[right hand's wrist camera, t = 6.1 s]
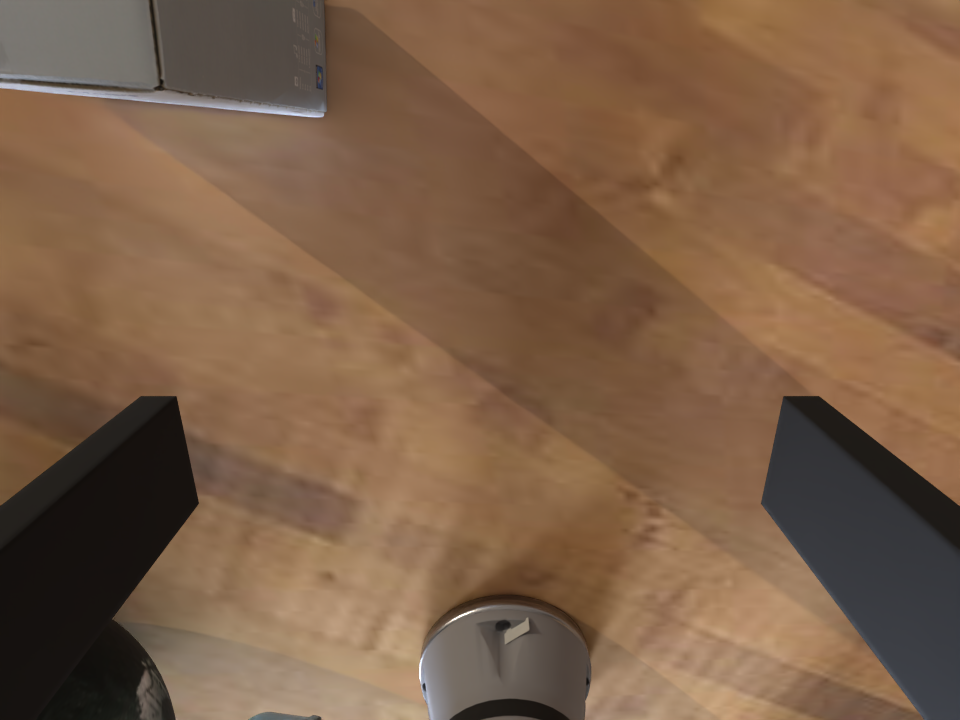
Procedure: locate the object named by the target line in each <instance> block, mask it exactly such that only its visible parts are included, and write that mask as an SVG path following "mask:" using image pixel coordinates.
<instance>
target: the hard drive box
mask: <svg viewBox="0 0 960 720" xmlns="http://www.w3.org/2000/svg"><path fill="white" fill-rule="evenodd" d="M0 88H7V89H17V90H27V91H37V92H47V93H57V94H68V95H80V96H92V97H103V98H116V99H126V100H137V101H147V102H158V103H169V104H179V105H190V106H200V107H211V108H221V109H231V110H241V111H251V112H261V113H273V114H284V115H295V116H305V117H323V116H324V112H326V111H327V90H326V48H325V13H324V0H0Z"/></svg>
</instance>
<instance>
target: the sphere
mask: <svg viewBox="0 0 960 720" xmlns="http://www.w3.org/2000/svg"><path fill="white" fill-rule="evenodd" d="M36 720H176V719H175V714H174V710H173V706H172V703H171V699H170V696H169V693H168V690H167V688H166V686H165V683H164V681H163V679H162V676H161V674H160V673H159V671H158V669H157V667H156V665H155V664H154V662H153V661H152V659H151V658H150V656H149V655H148V653H147V652H146V651H145V650H144V648H143V647H142V646H141V645H140V644H139V642H138V641H137V640H136V639H135V638H134V637H133V636H132V635H131V634H130V633H129V632H127V631H126V630H125V629H124V628H123V627H122V626H120V625H119V624H118V623H116V622H115V621H114V620H112V619H111V621H110V622H109V623H108V625H107V626H106V627H105V629H104V630H103V631H102V633H101V634H100V635H99V636H98V638H97V639H96V640H95V642H94V643H93V644H92V646H91V647H90V648H89V650H88V651H87V652H86V654H85V655H84V656H83V658H82V659H81V660H80V662H79V663H78V664H77V666H76V667H75V668H74V670H73V671H72V672H71V674H70V675H69V676H68V678H67V679H66V680H65V681H64V683H63V684H62V685H61V687H60V688H59V689H58V691H57V692H56V693H55V695H54V696H53V697H52V699H51V700H50V701H49V703H48V704H47V705H46V707H45V708H44V709H43V711H42V712H41V713H40V715H39V716H38V717H37V719H36Z"/></svg>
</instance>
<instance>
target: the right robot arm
mask: <svg viewBox="0 0 960 720" xmlns="http://www.w3.org/2000/svg"><path fill="white" fill-rule="evenodd" d="M198 504H199V502H198V497H197V492H196V487H195V482H194V478H193V473H192V468H191V463H190V459H189V454H188V449H187V444H186V440H185V435H184V430H183V425H182V420H181V416H180V411H179V406H178V401H177V397H176V396H141V397H139V398H138V399H137V400H136V401H134V402H133V403H132V404H131V405H129V406H128V407H127V408H125V409H124V410H123V411H122V412H120V413H119V414H118V415H116V416H115V417H114V418H113V419H111V420H110V421H109V422H107V423H106V424H105V425H104V426H102V427H101V428H100V429H99V430H97V431H96V432H95V433H93V434H92V435H91V436H90V437H88V438H87V439H86V440H84V441H83V442H82V443H81V444H79V445H78V446H77V447H75V448H74V449H73V450H72V451H70V452H69V453H68V454H67V455H65V456H64V457H63V458H61V459H60V460H59V461H58V462H56V463H55V464H54V465H52V466H51V467H50V468H49V469H47V470H46V471H45V472H43V473H42V474H41V475H40V476H38V477H37V478H36V479H35V480H33V481H32V482H31V483H29V484H28V485H27V486H26V487H24V488H23V489H22V490H20V491H19V492H18V493H17V494H15V495H14V496H13V497H11V498H10V499H9V500H8V501H6V502H5V503H4V504H3V505H1V506H0V720H36V719H37V717H38V716H39V715H40V713H41V712H42V711H43V709H44V708H45V707H46V705H47V704H48V703H49V701H50V700H51V699H52V697H53V696H54V695H55V693H56V692H57V691H58V689H59V688H60V687H61V685H62V684H63V683H64V681H65V680H66V679H67V678H68V676H69V675H70V674H71V672H72V671H73V670H74V668H75V667H76V666H77V664H78V663H79V662H80V660H81V659H82V658H83V656H84V655H85V654H86V652H87V651H88V650H89V648H90V647H91V646H92V644H93V643H94V642H95V640H96V639H97V638H98V636H99V635H100V634H101V633H102V631H103V630H104V629H105V627H106V626H107V625H108V623H109V622H110V621H111V619H112V618H113V617H114V615H115V614H116V613H117V611H118V610H119V609H120V607H121V606H122V605H123V603H124V602H125V601H126V599H127V598H128V597H129V595H130V594H131V593H132V591H133V590H134V589H135V587H136V586H137V585H138V584H139V582H140V581H141V580H142V578H143V577H144V576H145V574H146V573H147V572H148V570H149V569H150V568H151V566H152V565H153V564H154V562H155V561H156V560H157V558H158V557H159V556H160V554H161V553H162V552H163V550H164V549H165V548H166V546H167V545H168V544H169V542H170V541H171V540H172V539H173V537H174V536H175V535H176V533H177V532H178V531H179V529H180V528H181V527H182V525H183V524H184V523H185V521H186V520H187V519H188V517H189V516H190V515H191V513H192V512H193V511H194V509H195V508H196V507H197V505H198ZM761 504H762V505H763V507H764V508H765V509H766V511H767V512H768V513H769V515H770V516H771V517H772V519H773V520H774V521H775V523H776V524H777V525H778V527H779V528H780V529H781V531H782V532H783V533H784V535H785V536H786V537H787V539H788V540H789V541H790V542H791V544H792V545H793V546H794V548H795V549H796V550H797V552H798V553H799V554H800V556H801V557H802V558H803V560H804V561H805V562H806V564H807V565H808V566H809V568H810V569H811V570H812V572H813V573H814V574H815V576H816V577H817V578H818V580H819V581H820V582H821V584H822V585H823V586H824V588H825V589H826V590H827V591H828V593H829V594H830V595H831V597H832V598H833V599H834V601H835V602H836V603H837V605H838V606H839V607H840V609H841V610H842V611H843V613H844V614H845V615H846V617H847V618H848V619H849V621H850V622H851V623H852V625H853V626H854V627H855V629H856V630H857V631H858V633H859V634H860V635H861V636H862V638H863V639H864V640H865V642H866V643H867V644H868V646H869V647H870V648H871V650H872V651H873V652H874V654H875V655H876V656H877V658H878V659H879V660H880V662H881V663H882V664H883V666H884V667H885V668H886V670H887V671H888V672H889V674H890V675H891V676H892V678H893V679H894V680H895V681H896V683H897V684H898V685H899V687H900V688H901V689H902V691H903V692H904V693H905V695H906V696H907V697H908V699H909V700H910V701H911V703H912V704H913V705H914V707H915V708H916V709H917V711H918V712H919V713H920V715H921V716H922V717H923V719H924V720H960V506H959V505H957V504H956V503H955V502H954V501H952V500H951V499H950V498H949V497H947V496H946V495H945V494H943V493H942V492H941V491H940V490H938V489H937V488H936V487H934V486H933V485H932V484H931V483H929V482H928V481H927V480H925V479H924V478H923V477H922V476H920V475H919V474H918V473H917V472H915V471H914V470H913V469H911V468H910V467H909V466H908V465H906V464H905V463H904V462H902V461H901V460H900V459H899V458H897V457H896V456H895V455H893V454H892V453H891V452H890V451H888V450H887V449H886V448H885V447H883V446H882V445H881V444H879V443H878V442H877V441H876V440H874V439H873V438H872V437H870V436H869V435H868V434H867V433H865V432H864V431H863V430H861V429H860V428H859V427H858V426H856V425H855V424H854V423H853V422H851V421H850V420H849V419H847V418H846V417H845V416H844V415H842V414H841V413H840V412H838V411H837V410H836V409H835V408H833V407H832V406H831V405H829V404H828V403H827V402H826V401H824V400H823V399H822V398H821V397H819V396H784V397H783V401H782V406H781V411H780V416H779V420H778V425H777V430H776V435H775V440H774V444H773V449H772V454H771V459H770V463H769V468H768V473H767V478H766V482H765V487H764V492H763V497H762V502H761ZM419 673H420V682H421V688H422V692H423V696H424V699H425V701H426V703H427V705H428V713H429V719H430V720H584V718H585V700H586V698H587V696H588V692H589V688H590V681H591V663H590V658H589V653H588V648H587V644H586V641H585V638H584V636H583V634H582V632H581V630H580V629H579V627H578V626H577V625H576V623H575V622H574V621H573V620H572V619H571V618H570V617H569V616H567V615H566V614H565V613H564V612H562V611H561V610H559V609H558V608H556V607H554V606H552V605H550V604H548V603H545V602H543V601H540V600H537V599H533V598H529V597H524V596H516V595H496V596H488V597H483V598H478V599H475V600H472V601H469V602H466V603H464V604H461V605H459V606H457V607H455V608H454V609H452V610H450V611H449V612H447V613H446V614H445V615H444V616H442V617H441V618H440V619H439V620H438V621H437V622H436V623H435V624H434V625H433V627H432V628H431V629H430V631H429V632H428V634H427V636H426V638H425V641H424V643H423V647H422V652H421V661H420V671H419ZM249 720H321V717H319V716H316V715H313V716H311V717H303V716H296V715H288V714H281V713H274V712H265V713H260V714H258V715H256V716H253V717H252V718H250V719H249Z"/></svg>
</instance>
